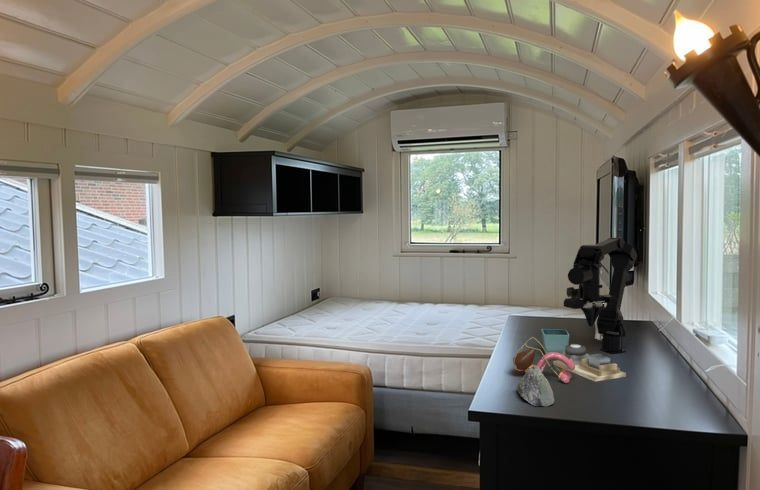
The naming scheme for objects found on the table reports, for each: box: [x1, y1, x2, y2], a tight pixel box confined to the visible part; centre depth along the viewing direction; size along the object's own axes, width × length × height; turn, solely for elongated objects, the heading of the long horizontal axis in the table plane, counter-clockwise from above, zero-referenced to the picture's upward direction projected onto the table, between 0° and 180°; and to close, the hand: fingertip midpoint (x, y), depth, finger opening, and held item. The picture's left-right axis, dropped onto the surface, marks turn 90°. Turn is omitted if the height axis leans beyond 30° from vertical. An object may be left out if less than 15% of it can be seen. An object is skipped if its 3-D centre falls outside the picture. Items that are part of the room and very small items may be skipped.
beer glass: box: [594, 303, 607, 342], centre depth 214 cm, size 7×7×15 cm
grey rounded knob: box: [565, 343, 587, 355], centre depth 180 cm, size 6×6×5 cm
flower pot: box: [541, 328, 570, 354], centre depth 191 cm, size 9×9×9 cm
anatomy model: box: [512, 336, 575, 384], centre depth 167 cm, size 11×15×17 cm
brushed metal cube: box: [589, 353, 611, 370], centre depth 169 cm, size 4×5×5 cm
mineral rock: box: [516, 364, 555, 407], centre depth 149 cm, size 13×11×10 cm
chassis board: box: [552, 352, 627, 382], centre depth 174 cm, size 12×20×4 cm, turn 19°
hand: (590, 326), depth 185 cm, fingers closed
